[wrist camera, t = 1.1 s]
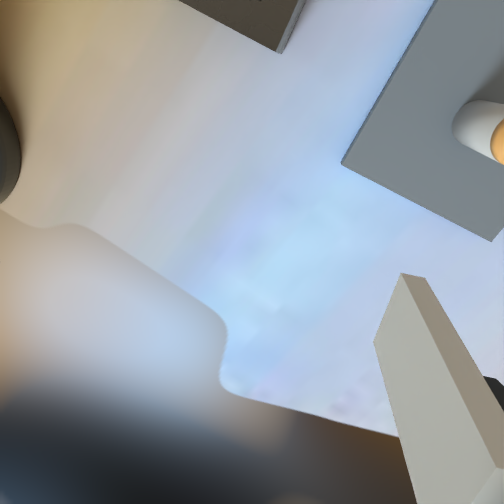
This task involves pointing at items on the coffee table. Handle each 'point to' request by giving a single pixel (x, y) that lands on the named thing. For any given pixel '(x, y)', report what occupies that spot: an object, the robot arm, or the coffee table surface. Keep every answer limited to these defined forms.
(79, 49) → the coffee table surface
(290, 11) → the hollow square block
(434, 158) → the keeper
